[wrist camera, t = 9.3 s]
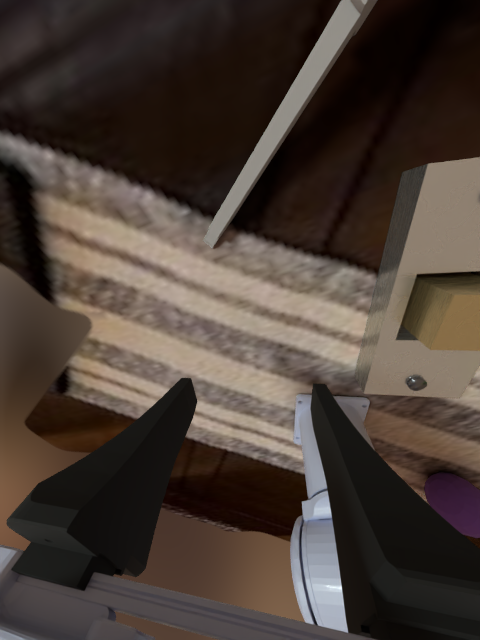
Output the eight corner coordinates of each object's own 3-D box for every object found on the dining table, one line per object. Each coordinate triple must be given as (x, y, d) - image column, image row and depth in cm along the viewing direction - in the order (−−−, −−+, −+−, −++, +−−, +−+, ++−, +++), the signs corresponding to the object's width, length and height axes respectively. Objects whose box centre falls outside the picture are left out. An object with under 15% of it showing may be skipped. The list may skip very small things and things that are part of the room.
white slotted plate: (439, 378, 20) (462, 401, 18) (354, 375, 21) (364, 396, 19) (552, 153, 12) (625, 138, 9) (402, 172, 13) (431, 162, 11)
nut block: (443, 316, 17) (500, 351, 13) (392, 316, 18) (429, 349, 14) (463, 270, 15) (537, 293, 11) (405, 273, 16) (454, 295, 12)
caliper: (466, -167, 8) (850, -925, 3) (480, -140, 8) (863, -792, 3) (204, 240, 17) (172, 252, 12) (214, 248, 18) (187, 264, 12)
